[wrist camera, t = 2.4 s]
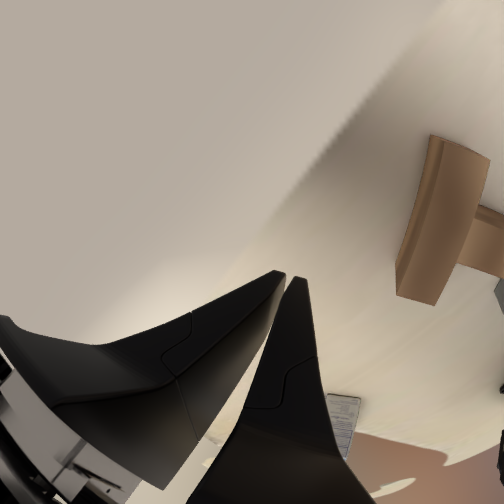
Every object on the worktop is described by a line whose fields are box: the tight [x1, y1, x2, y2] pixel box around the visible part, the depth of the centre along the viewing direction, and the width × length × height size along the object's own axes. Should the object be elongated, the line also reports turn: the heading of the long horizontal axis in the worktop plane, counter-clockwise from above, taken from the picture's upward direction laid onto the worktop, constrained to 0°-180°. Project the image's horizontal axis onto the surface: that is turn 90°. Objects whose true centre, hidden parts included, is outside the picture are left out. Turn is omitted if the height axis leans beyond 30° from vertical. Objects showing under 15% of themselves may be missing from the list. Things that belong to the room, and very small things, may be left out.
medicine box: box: [326, 394, 361, 460], centre depth 28 cm, size 8×4×9 cm, turn 9°
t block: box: [395, 135, 504, 306], centre depth 14 cm, size 8×10×4 cm
